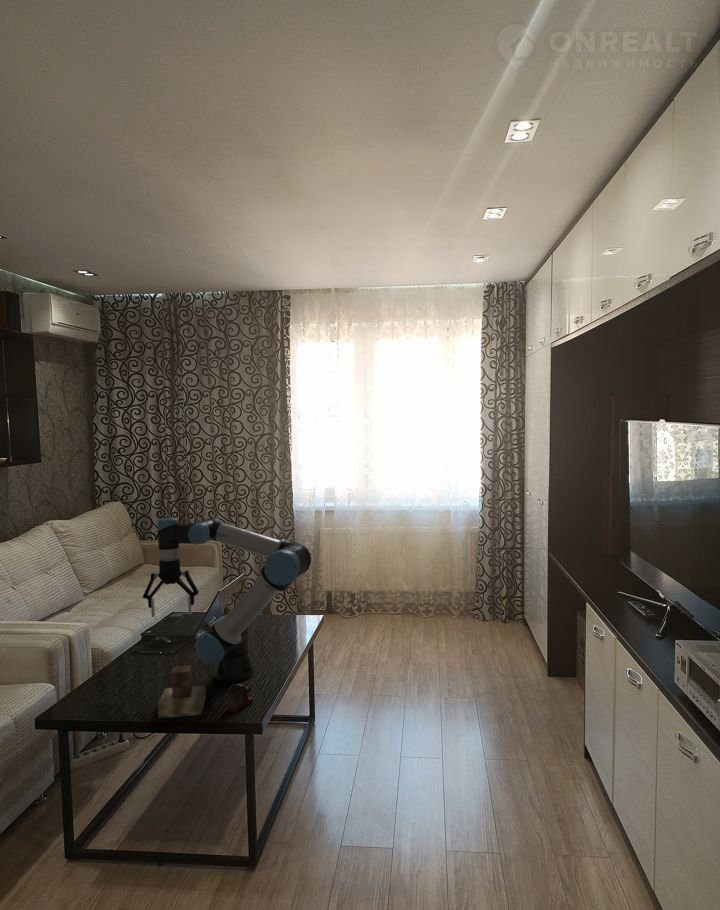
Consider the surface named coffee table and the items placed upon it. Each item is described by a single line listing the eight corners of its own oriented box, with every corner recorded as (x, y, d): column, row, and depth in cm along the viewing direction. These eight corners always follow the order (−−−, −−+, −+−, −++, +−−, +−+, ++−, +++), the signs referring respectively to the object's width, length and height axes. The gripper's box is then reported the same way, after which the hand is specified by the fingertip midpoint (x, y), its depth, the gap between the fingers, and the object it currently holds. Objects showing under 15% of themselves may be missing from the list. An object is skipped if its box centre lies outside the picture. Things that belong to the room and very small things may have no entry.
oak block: (205, 698, 230) (205, 685, 230) (200, 715, 216) (200, 701, 216) (165, 702, 228) (164, 688, 228) (158, 719, 215) (157, 704, 214)
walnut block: (192, 690, 226) (191, 665, 225) (190, 697, 220) (189, 671, 220) (174, 692, 225) (173, 666, 225) (172, 698, 219) (171, 672, 219)
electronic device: (254, 702, 225) (253, 681, 225) (235, 713, 217) (234, 691, 216) (244, 700, 227) (243, 679, 227) (226, 710, 219) (224, 689, 219)
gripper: (204, 555, 247) (206, 609, 248) (137, 559, 244) (139, 614, 245) (202, 558, 240) (204, 615, 240) (132, 563, 236) (135, 620, 237)
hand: (172, 614), depth 243 cm, fingers open, 13 cm apart
